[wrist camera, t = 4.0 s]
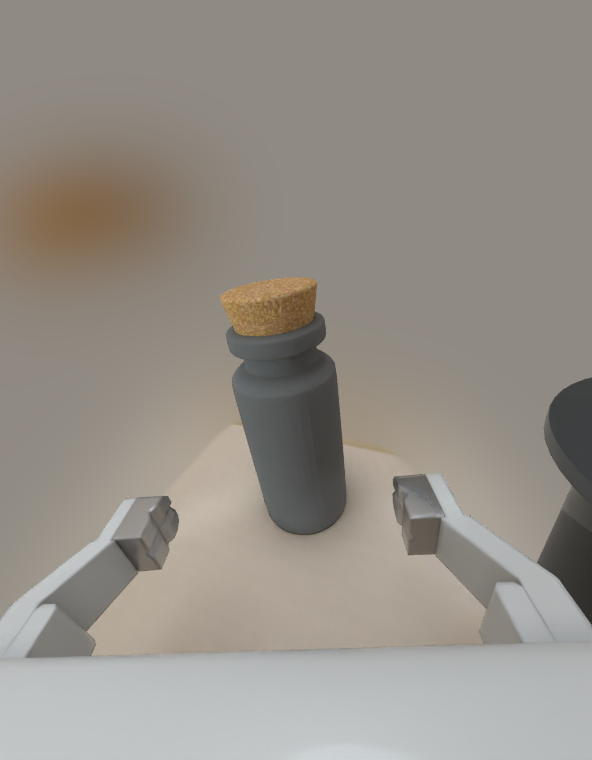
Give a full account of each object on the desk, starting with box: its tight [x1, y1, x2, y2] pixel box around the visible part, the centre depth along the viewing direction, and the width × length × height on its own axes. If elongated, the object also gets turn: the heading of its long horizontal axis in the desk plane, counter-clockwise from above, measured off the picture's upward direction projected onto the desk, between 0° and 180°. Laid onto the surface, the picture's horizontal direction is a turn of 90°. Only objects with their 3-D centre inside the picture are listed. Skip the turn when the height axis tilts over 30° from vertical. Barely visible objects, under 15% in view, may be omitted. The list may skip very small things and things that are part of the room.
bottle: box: [220, 277, 346, 534], centre depth 17 cm, size 6×6×15 cm
